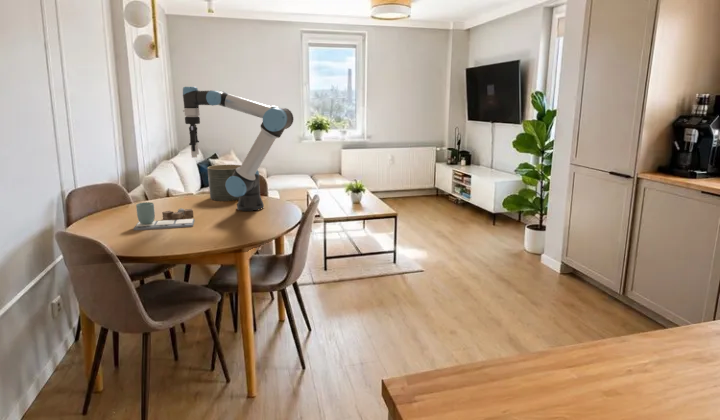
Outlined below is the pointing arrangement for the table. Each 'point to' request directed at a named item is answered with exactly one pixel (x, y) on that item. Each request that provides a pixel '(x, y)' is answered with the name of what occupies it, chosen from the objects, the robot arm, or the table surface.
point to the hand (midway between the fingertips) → (195, 155)
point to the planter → (220, 182)
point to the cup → (145, 212)
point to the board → (165, 224)
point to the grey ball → (181, 210)
